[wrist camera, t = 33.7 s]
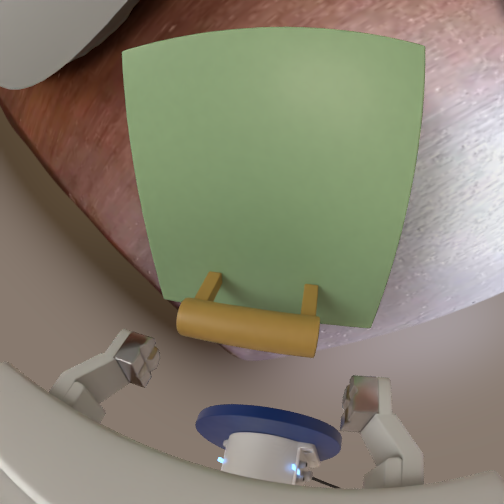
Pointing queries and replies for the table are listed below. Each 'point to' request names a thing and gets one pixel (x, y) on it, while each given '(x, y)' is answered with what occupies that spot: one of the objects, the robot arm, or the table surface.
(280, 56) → the box lid
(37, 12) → the flat disc
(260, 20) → the table surface
